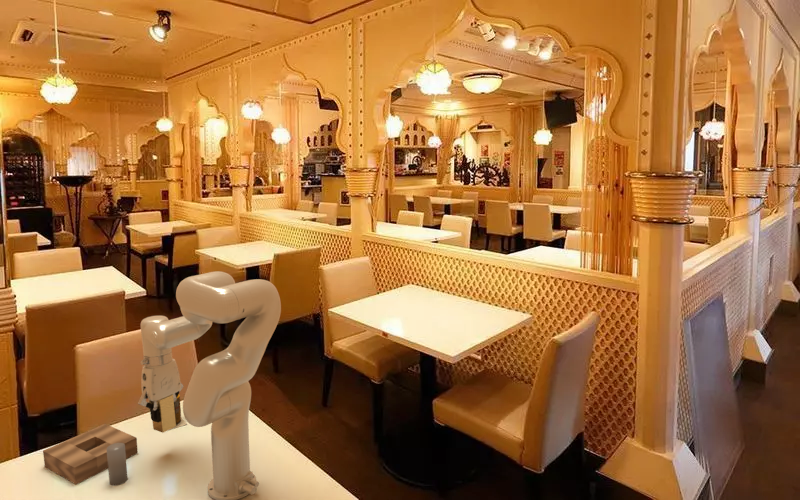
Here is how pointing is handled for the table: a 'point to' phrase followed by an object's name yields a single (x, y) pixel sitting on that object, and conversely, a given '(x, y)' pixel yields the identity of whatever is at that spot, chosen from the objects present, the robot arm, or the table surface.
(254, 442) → the table surface
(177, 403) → the condiment
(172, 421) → the square peg
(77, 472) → the socket block
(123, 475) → the round peg
